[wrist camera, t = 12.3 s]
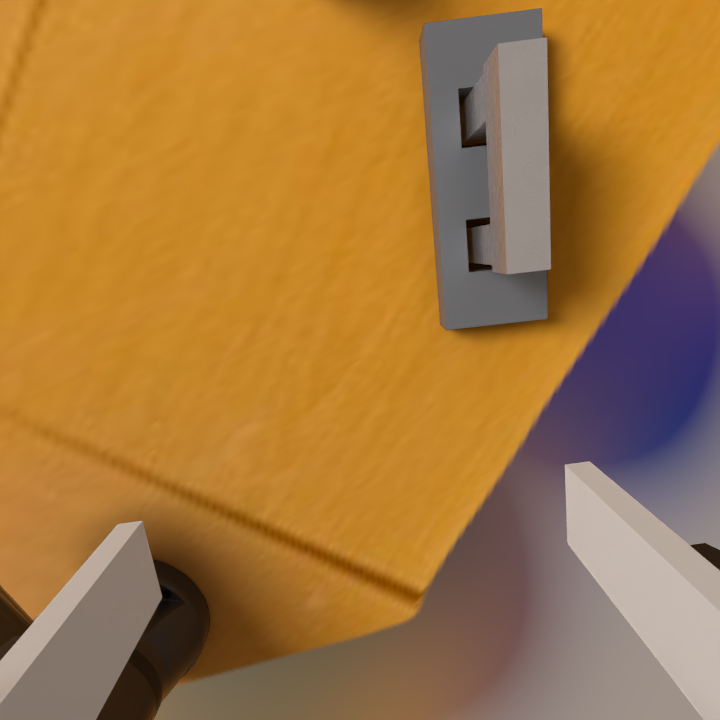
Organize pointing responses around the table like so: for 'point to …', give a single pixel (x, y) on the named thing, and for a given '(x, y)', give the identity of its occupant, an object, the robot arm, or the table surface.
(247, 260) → the table surface
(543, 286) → the grey slotted base plate
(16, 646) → the robot arm
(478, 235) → the light gray u-shaped block
